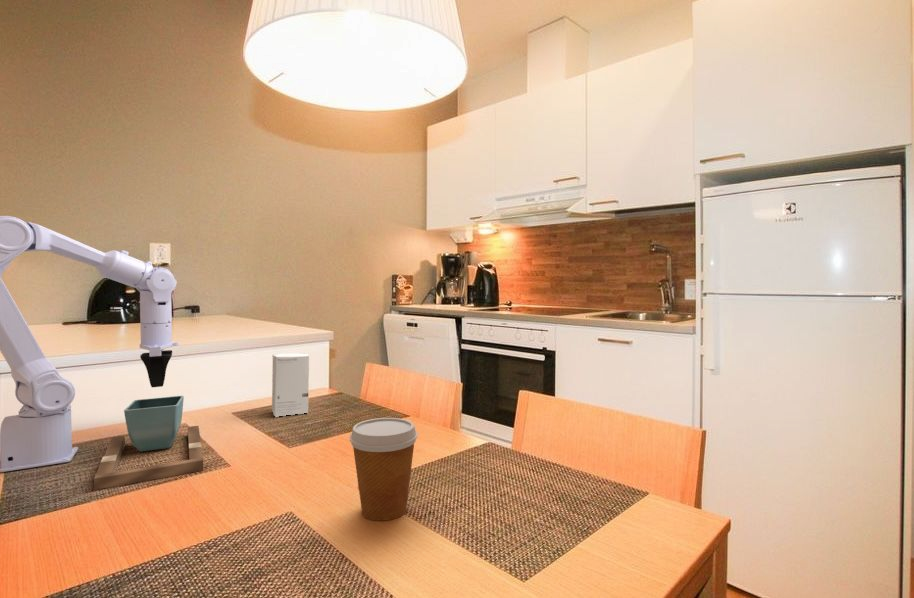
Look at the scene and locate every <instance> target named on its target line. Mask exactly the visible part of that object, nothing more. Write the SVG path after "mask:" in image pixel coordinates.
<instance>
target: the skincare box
mask: <svg viewBox="0 0 914 598" xmlns="http://www.w3.org/2000/svg"><path fill="white" fill-rule="evenodd" d="M271 375H272V376H271V377H272V379H271V380H272V381H271V382H272V383H271V384H272V389H271V393H272V395H271V412H273V413H272V414H273V417H274V416H275V417H274V418H280V417H279V416H283V417H287V416H286V415H291V416H296V415H295V414H298V415H305V414H304V413H307V414H309V388H310V384H309V379H310V377H309V376H310V355H309V354H307V353H279V354H272V374H271Z"/></svg>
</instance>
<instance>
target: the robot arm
mask: <svg viewBox="0 0 914 598" xmlns="http://www.w3.org/2000/svg"><path fill="white" fill-rule="evenodd" d="M23 252H48V253H53V254H55V255H58V256H61V257H64V258H66V259H70V260H73V261H77V262H78V263H82V264H86V265H88V266H91V267H95V268H96V271H97V272H98V273H99V276H101V277H103V278H106V279H109V280H112V281H113V282H114V281H115V282H118V283H120V284H123V285H125V286H128V287H131V288H135V289H136V290H137V291H138V292H139V311H140V312H139V313H140V314H139V316H140V318H139V319H140V321H139V322H140V343H139V349H142V350H147V351H149V352H143V353H142V354H140V360H141V361H142V363H143V364H144V366H145V369H146V373H147V376H148V380H149V384H150V387H151V388H160V387H163V386H164V384H165V380H166V379H165V378H166V372H167V367H168V364H169V362H170V360H171V358H172V356H173V350H171V349H169V350H166V349H168V348H172V347H175V346H176V347H177V346H179V341H173V327H172V326H173V322H172V321H173V315H172V309H173V308H172V307H173V306H172V293H173V291H175V288H176V286H177V284H178V281H177V279H175V276H174V273H171V272H172V271H170V270H169V269H167V268H166V267H162V266H161V267H160V266H159V267H154V266H153V262H152V261H148V260H145V261H143V260H141V259H137V258H135V257H133V256H131V255H129V254H130V253H129V251H126V250H123V249H122V250H121V249H120V250H114V249H113V250H108V251H106V252H104V251H101V250H99V249H96V248H94V247H92V246H91V245H90V246H89V245H87V244H84V243H82V242H81V241H78V240H76V239H73V238H71V237H69V236H66V235H64V234H61V233H59V232H57V231H55V230H52V229H50V228H47V227H45V226H43V225H40V224H38V223H34V222H30V221H28V222H26V221H24V220H22V219H21V218H18V217H15V216H10V215H0V353H1V354H2V356H3V359H5V362H6V363H7V364H8V366H9V368H10V373H11V378H12V379H13V381H14V383H15V389H14V390H15V391H14V394H15V398H16V399H17V401H18V402H19V403H20V404H21V405H22V406H21V408H20V409H19V410H18V414H15V415H9V416H5V417H4V418H3V420H2V421H1V424H0V473H3V472H4V473H5V472H11V471H17V470H24V469H31V468H36V467H37V468H38V467H45V466H50V465H56V464H63V463H69V462H71V461H72V460H73V458H74V457H75V454H76V453H77V452H78V451H79V447H78V446H74V447H73V436H72V435H73V434H72V433H73V432H72V405H71V404H72V403H73V401H74V399H75V396H76V389H75V387H74V384H73V383H72V382H71V381H69V380H68V379H66V378H64V377H63V376H62V375H60V373H59V372H58V369H57V368H56V366H54V365H53V364H52V363H51V361H49V360H48V358H47V357H46V355H45V353H44V352H43V350H42V347H40V345H39V342H38V341H37V340H36V336H35V335H34V334H33V332H32V330H31V328H30V327H29V325H28V323H27V322H26V319H25V318H24V316H23V313H21V310H20V309H19V307H18V305H17V303H16V302H15V300H14V298H13V297H12V295H11V293H10V291H9V289H8V288H7V286H6V284H5V282H4V280H3V279H2V275H4V273H5V271H6V269H8V267H9V265H10V264H11V262H12V261H13V260H14V259H16V258H17V257H18V256H19V255H22V253H23Z"/></svg>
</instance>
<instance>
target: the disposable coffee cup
mask: <svg viewBox="0 0 914 598" xmlns="http://www.w3.org/2000/svg"><path fill="white" fill-rule="evenodd" d="M418 434H419V433H418V431H417V430H416V428H415V423H414V422H412V421H410V420H407V419H404V418H398V417H377V418H371V419H367V420H362V421H360V422H357V423H356V424H355V425H353V427H352V430H351V434H350V435H349V438H348V439H349V442H350V443H351V445H352V448H353V456H354V463H355V471H356V477H357V485H358V486H357V487H358V493H359V500H360V507H361V514H362V516H363V517H364V518H367V519H369V520H372V521H381V522H384V521H390V520H395V519H397V518H399V517H401V516H402V515H404V514H405V513H406V512H407V507H408V506H407V505H408V498H409V491H410V482H411V475H412V467H413V464H412V463H413V457H414V449H415V448H414V447H415V446H414V445H415V443H416V441H417V439H418V436H419V435H418Z"/></svg>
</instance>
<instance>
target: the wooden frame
mask: <svg viewBox="0 0 914 598" xmlns="http://www.w3.org/2000/svg"><path fill="white" fill-rule="evenodd" d="M200 433H201V432H200V427H199V425H192V426H187V442H188V459H186V460H185V459H184V460H180V461H174V462H168V463H167V462H166V463H162V464H161V463H160V464H157V465H156V464H155V465H149V466H145V467H138V468H132V469H125V470H120V471H117V468H118V465H119V462H120V460H121V458H122V455H121V454H123V452H124V449H125V446H126V436H125V435H118V436H112V438H111V440H110V442H109V444H108V446H107V448H106V451H105V453H104V456H102V458H101V460H100V463H99V465H98V466H99V467H98V469H97V470H96V473H95V475H94V477H93V491H98V490H102V489H109V488H114V487H119V486H124V485H130V484H135V483H143V482H147V481H151V480H153V481H154V480H159V479H163V478H168V477H175V476H181V475H185V474H192V473H196V472H202V471H204V457H203V449H202V442H201V441H202V440H201V435H200ZM124 445H125V446H124ZM123 448H124V449H123ZM122 451H123V452H122Z"/></svg>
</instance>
